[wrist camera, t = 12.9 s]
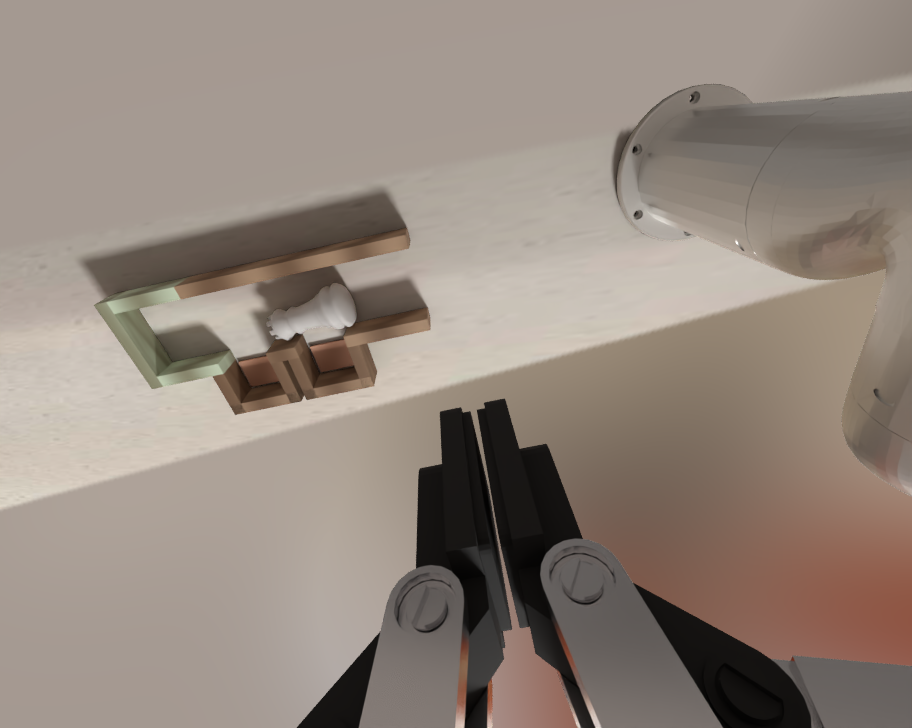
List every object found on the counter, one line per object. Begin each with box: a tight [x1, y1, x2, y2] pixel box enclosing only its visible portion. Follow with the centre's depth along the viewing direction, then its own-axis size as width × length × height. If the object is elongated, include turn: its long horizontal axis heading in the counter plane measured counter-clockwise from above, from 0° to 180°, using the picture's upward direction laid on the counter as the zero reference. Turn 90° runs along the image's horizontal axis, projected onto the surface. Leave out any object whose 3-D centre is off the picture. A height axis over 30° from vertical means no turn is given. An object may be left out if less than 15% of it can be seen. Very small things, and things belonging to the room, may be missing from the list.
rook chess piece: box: [267, 283, 357, 340], centre depth 41 cm, size 4×4×8 cm
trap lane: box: [94, 228, 430, 415], centre depth 42 cm, size 29×14×3 cm, turn 101°
